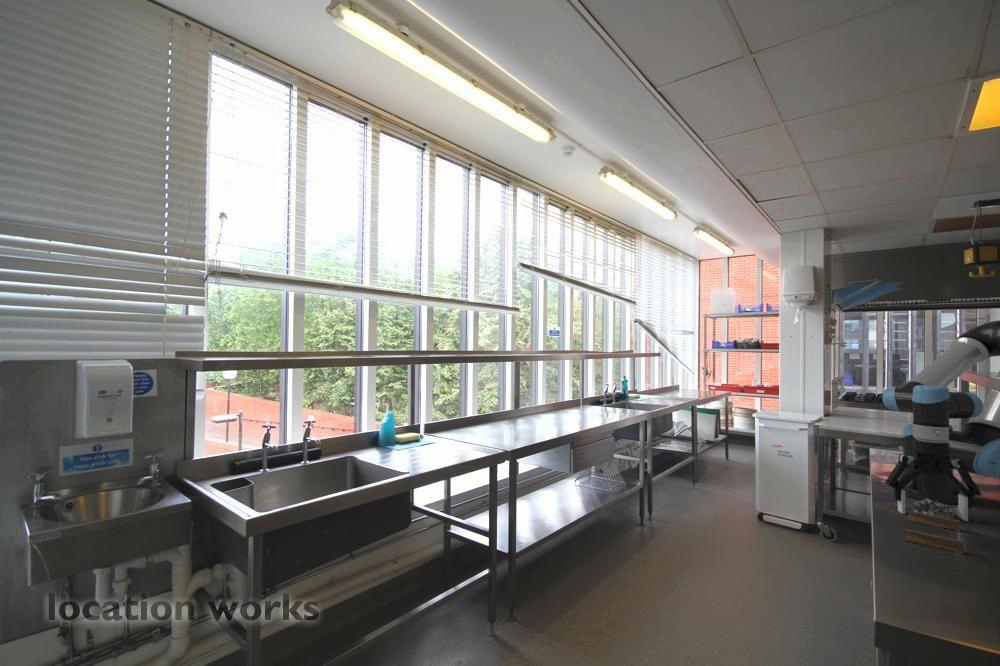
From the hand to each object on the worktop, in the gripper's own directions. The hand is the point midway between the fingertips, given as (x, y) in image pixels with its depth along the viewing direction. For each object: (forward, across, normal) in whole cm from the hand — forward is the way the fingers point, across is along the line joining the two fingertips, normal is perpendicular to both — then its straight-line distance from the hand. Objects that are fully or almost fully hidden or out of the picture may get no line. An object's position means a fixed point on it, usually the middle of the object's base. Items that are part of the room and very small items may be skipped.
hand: (931, 516), depth 128 cm
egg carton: (+1, 0, 0) cm, 1 cm away
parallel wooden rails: (0, -7, -16) cm, 18 cm away
